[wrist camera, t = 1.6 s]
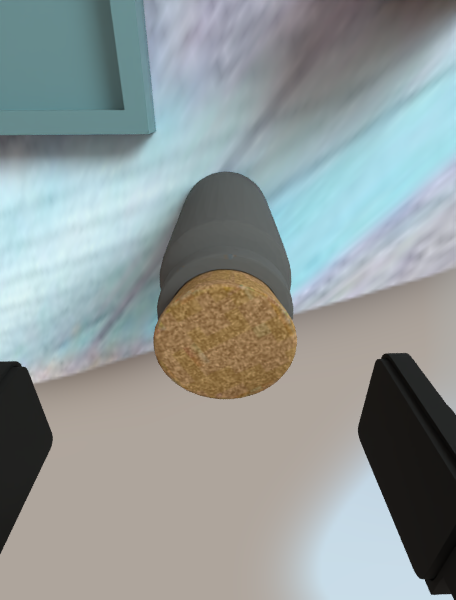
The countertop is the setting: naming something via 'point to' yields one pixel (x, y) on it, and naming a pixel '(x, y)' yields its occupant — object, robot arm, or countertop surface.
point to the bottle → (225, 293)
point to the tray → (74, 68)
